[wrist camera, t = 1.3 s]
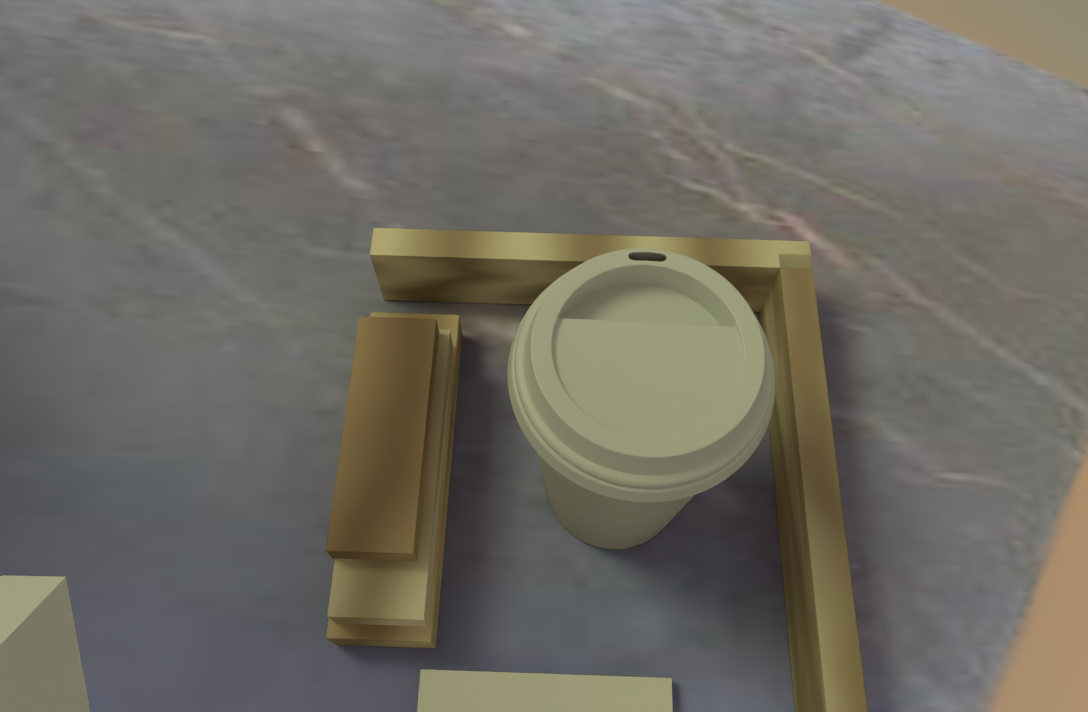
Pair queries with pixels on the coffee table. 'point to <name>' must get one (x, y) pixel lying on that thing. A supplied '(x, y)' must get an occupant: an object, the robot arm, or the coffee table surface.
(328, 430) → the coffee table surface
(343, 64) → the coffee table surface
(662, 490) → the coffee cup
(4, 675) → the robot arm
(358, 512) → the offcut stack
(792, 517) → the frame
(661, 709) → the ceramic tile
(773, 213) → the coffee table surface
